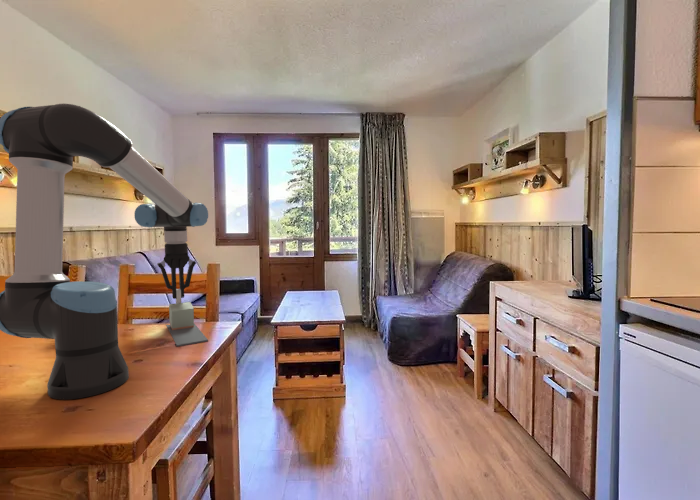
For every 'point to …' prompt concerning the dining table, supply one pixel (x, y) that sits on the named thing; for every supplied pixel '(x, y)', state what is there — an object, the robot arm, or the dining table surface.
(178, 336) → the mat
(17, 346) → the dining table surface
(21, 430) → the dining table surface
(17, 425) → the dining table surface
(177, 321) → the block
